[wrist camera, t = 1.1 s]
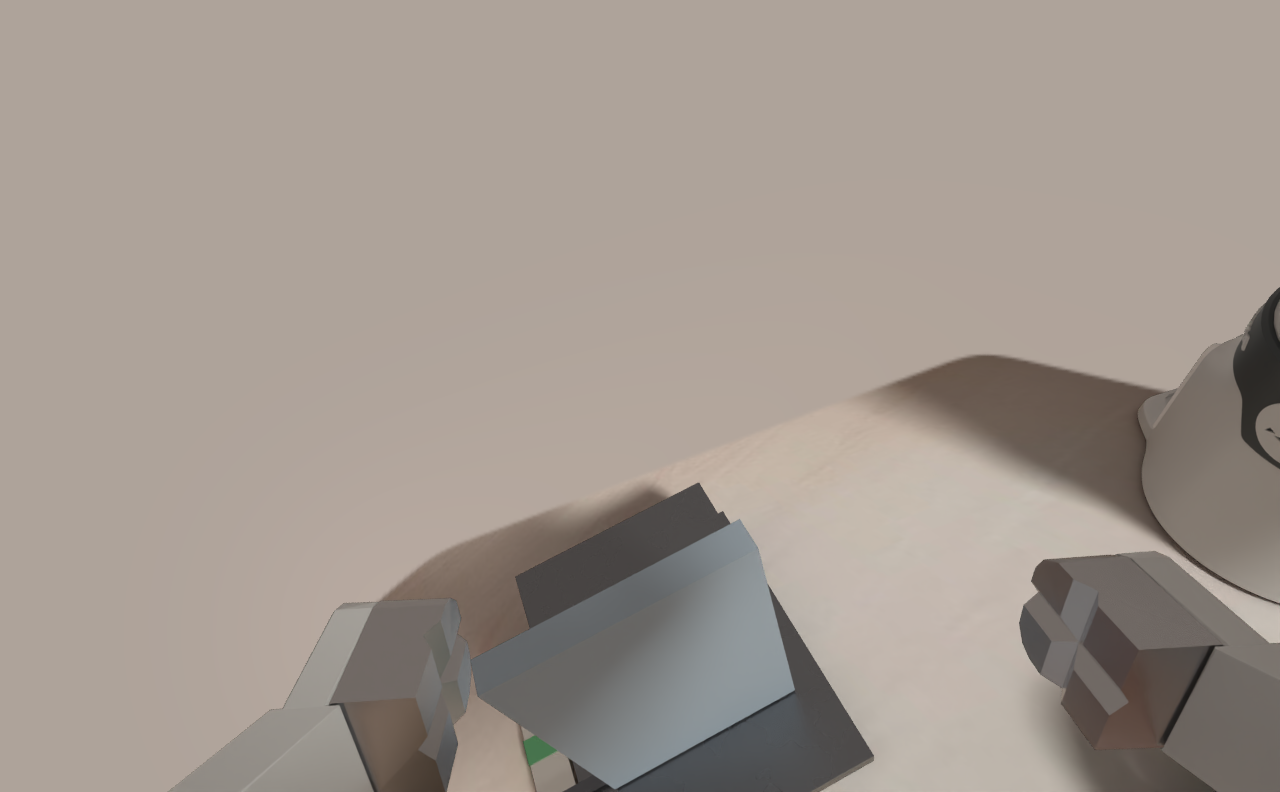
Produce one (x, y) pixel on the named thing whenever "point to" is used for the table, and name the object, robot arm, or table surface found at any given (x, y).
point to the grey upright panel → (646, 662)
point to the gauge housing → (738, 755)
